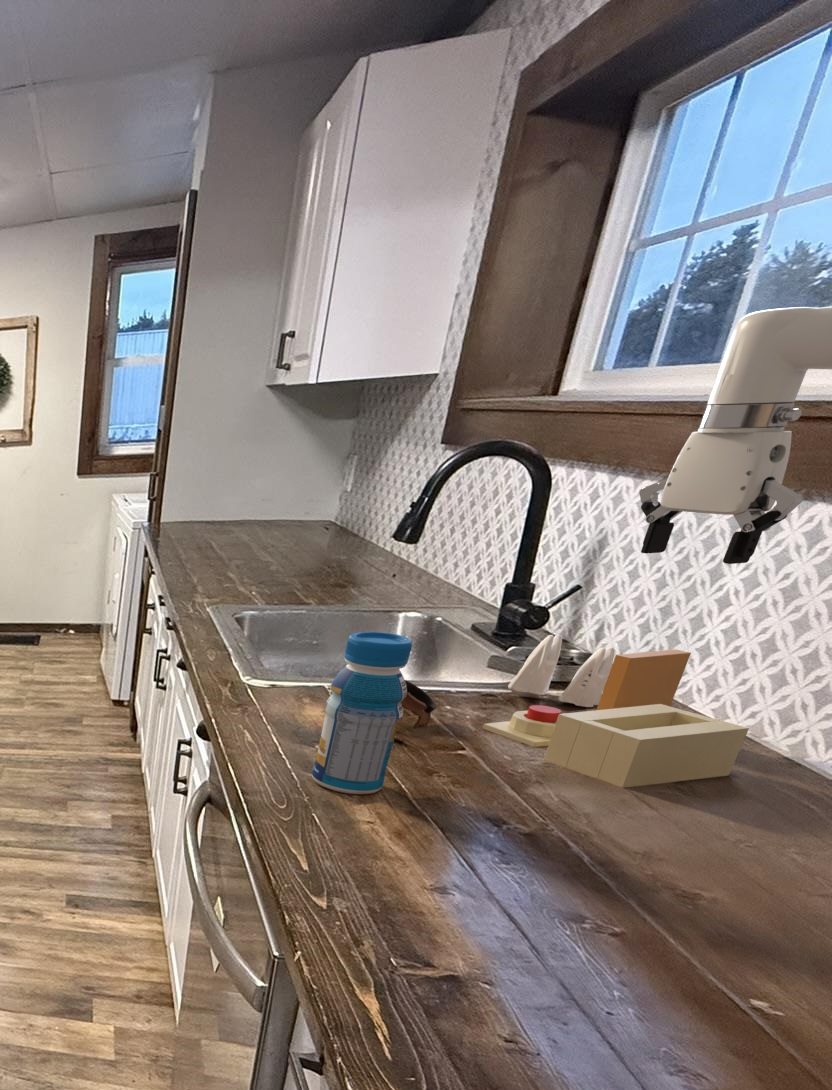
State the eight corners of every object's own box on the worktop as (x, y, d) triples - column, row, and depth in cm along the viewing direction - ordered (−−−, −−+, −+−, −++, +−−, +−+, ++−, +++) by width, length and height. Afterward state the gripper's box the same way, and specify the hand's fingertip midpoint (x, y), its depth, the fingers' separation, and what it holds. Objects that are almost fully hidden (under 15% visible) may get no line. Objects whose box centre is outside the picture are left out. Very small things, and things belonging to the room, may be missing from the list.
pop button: (540, 715, 121) (543, 704, 120) (564, 723, 118) (568, 711, 117) (519, 717, 120) (522, 706, 120) (543, 725, 117) (546, 714, 117)
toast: (642, 734, 122) (675, 649, 117) (657, 739, 120) (691, 652, 115) (585, 740, 121) (615, 654, 116) (599, 745, 119) (630, 658, 114)
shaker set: (504, 698, 139) (524, 634, 135) (504, 692, 142) (523, 629, 138) (599, 710, 132) (623, 643, 128) (597, 703, 135) (621, 637, 131)
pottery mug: (367, 712, 137) (408, 674, 131) (410, 752, 131) (454, 715, 126) (325, 706, 131) (366, 667, 126) (368, 748, 125) (413, 709, 120)
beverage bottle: (343, 800, 106) (380, 648, 98) (294, 775, 113) (325, 632, 105) (399, 792, 107) (439, 642, 99) (347, 768, 115) (381, 627, 107)
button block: (537, 731, 125) (545, 706, 123) (591, 750, 118) (600, 723, 116) (479, 737, 123) (487, 712, 122) (530, 756, 116) (539, 730, 115)
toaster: (639, 757, 114) (659, 703, 111) (727, 787, 105) (752, 728, 102) (537, 768, 112) (555, 713, 109) (618, 800, 103) (641, 740, 100)
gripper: (858, 417, 96) (795, 565, 103) (690, 419, 112) (645, 547, 119) (806, 420, 95) (746, 569, 102) (643, 421, 111) (600, 550, 118)
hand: (691, 557), depth 110 cm, fingers open, 9 cm apart
